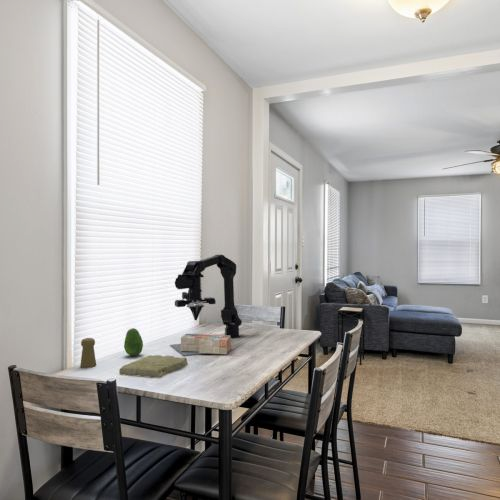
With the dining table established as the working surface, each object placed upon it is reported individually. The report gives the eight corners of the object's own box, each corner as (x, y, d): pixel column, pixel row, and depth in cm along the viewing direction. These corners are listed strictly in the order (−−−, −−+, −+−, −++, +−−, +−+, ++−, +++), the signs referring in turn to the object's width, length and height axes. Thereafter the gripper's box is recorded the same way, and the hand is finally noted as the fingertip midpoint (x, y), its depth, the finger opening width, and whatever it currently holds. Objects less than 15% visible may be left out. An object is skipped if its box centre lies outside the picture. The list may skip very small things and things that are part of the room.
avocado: (126, 354, 182) (126, 327, 183) (144, 353, 183) (144, 326, 183) (122, 358, 175) (122, 330, 175) (141, 357, 175) (140, 329, 175)
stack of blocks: (185, 346, 192) (178, 352, 180) (186, 333, 192) (178, 338, 180) (230, 348, 190) (226, 354, 177) (231, 335, 190) (226, 340, 178)
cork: (86, 368, 159) (86, 340, 159) (76, 366, 163) (76, 339, 163) (99, 365, 164) (99, 337, 165) (90, 363, 168) (89, 336, 168)
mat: (193, 343, 203) (193, 342, 203) (209, 353, 182) (209, 352, 182) (169, 345, 197) (169, 344, 197) (183, 356, 177) (183, 355, 177)
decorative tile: (118, 375, 152) (118, 365, 152) (149, 361, 171) (149, 353, 171) (162, 380, 145) (162, 370, 145) (189, 365, 164) (189, 356, 164)
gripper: (207, 285, 207) (208, 315, 207) (171, 287, 198) (171, 319, 199) (215, 286, 197) (216, 319, 197) (177, 289, 188) (178, 323, 189)
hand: (195, 320), depth 195 cm, fingers closed
